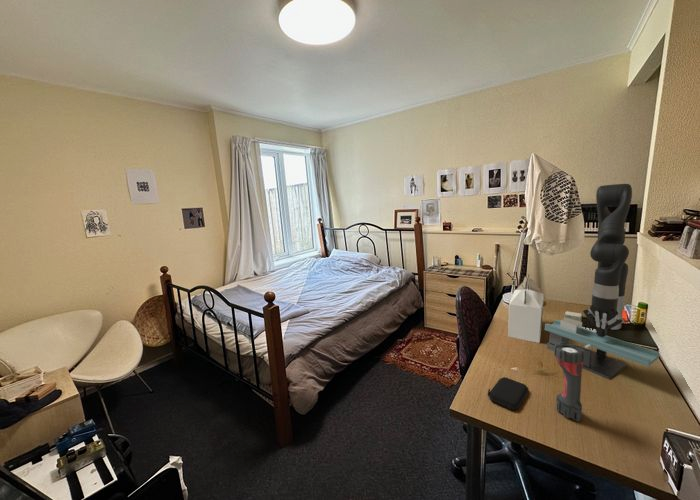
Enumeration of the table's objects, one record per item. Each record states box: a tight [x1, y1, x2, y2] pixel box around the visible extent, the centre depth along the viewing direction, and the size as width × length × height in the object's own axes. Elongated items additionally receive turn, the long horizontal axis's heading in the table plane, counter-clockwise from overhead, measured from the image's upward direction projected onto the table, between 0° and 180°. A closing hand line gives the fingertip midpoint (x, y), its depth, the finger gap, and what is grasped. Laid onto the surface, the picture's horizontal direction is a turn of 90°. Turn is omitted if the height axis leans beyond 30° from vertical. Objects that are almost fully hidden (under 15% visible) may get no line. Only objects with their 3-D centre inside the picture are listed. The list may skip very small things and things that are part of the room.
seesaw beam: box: [544, 319, 660, 367], centre depth 116 cm, size 14×34×9 cm, turn 27°
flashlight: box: [553, 342, 585, 423], centre depth 92 cm, size 8×8×23 cm
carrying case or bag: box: [487, 376, 529, 411], centre depth 104 cm, size 11×3×15 cm
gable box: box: [507, 274, 545, 344], centre depth 145 cm, size 22×13×28 cm, turn 144°
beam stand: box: [546, 341, 628, 380], centre depth 121 cm, size 15×24×8 cm, turn 27°
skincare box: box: [563, 311, 583, 322], centre depth 136 cm, size 6×4×12 cm
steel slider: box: [559, 318, 583, 334], centre depth 123 cm, size 5×6×5 cm
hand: (601, 336), depth 114 cm, fingers closed
